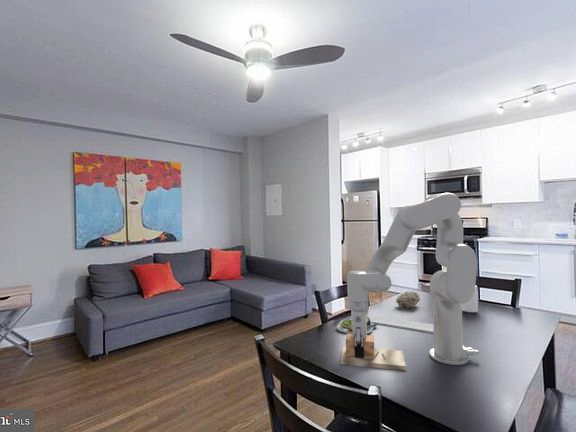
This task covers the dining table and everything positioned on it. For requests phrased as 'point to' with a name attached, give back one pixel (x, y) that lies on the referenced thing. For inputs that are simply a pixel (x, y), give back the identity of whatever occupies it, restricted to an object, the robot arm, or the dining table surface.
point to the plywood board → (377, 359)
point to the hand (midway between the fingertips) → (359, 352)
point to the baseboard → (402, 324)
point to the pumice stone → (408, 299)
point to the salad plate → (348, 324)
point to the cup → (471, 303)
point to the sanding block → (367, 344)
